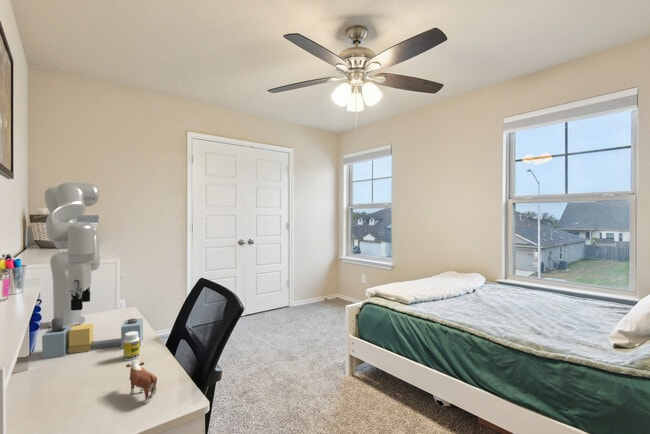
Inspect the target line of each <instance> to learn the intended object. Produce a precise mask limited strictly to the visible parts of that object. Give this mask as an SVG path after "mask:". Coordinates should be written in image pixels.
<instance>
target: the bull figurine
mask: <svg viewBox="0 0 650 434" xmlns="http://www.w3.org/2000/svg"><path fill="white" fill-rule="evenodd" d="M144 365H145V362H144V361H142V362H140V361H139V360H138V359H133V360H132V363H127V364H126V365H125V367H126V368H130V372H129V373H130V375H129V381H130V391H129V393H130V394H131V395H133V394H134V390H135V388H139V389H140V390H139V392H140V391H141V392H140V393H144V397H145V400H144V401H143V403H146V404H148V403H149V401H148V400H149V399H148V398H149V396H151V397H150V398H152V397H154V396H155V395H156V393H157V383H158V377H157V376H156V375H154V374H153V373H152V372H150V371H148V370H146V369H145V368H144V367H143V366H144ZM141 366H142V367H141ZM142 391H144V392H142ZM149 393H150V394H149Z"/></svg>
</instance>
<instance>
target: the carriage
mask: <svg viewBox="0 0 650 434" xmlns="http://www.w3.org/2000/svg"><path fill="white" fill-rule="evenodd" d="M91 342H94V323H88V324H87V323H86V324H79V325H76V326H72V328H71V329H70V330H69V353H68V354H74V353H82V352H87V351H88V352H90V351H91V350H90V344H91Z"/></svg>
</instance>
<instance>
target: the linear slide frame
mask: <svg viewBox="0 0 650 434" xmlns="http://www.w3.org/2000/svg"><path fill="white" fill-rule="evenodd" d="M143 321H144V320H143V318H129V319H124V322H123V324H121V327H120V330H121V331H120V333H121V334H120V338H121V346H120V347H121V350H122V349H123V350H124V340H125V334H126V333H128V332H131V331H137V332H138V337H139V339H140V341H139V348H141V345H142V342H143V339H144V329H143V328H144V326H143V325H144V322H143ZM72 327H73V326H63V330H62V331H58V332H52V328H50V327H49V329H48V330H47V331H45V333H44V334H42V336H41V343H42V344H41V347H42V348H41V350H42V352H41V355H42V357H41V358H42V360H46V359H53V358H61V357H62V358H63V357H65V356H66V355H67V354H68V353H67V347H68V345H69V330H70V329H71V328H72Z"/></svg>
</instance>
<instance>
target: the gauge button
mask: <svg viewBox="0 0 650 434" xmlns="http://www.w3.org/2000/svg"><path fill="white" fill-rule="evenodd" d="M51 322H52V332H58V331H62V330H63V318H55V319H54V318H52V319H51Z"/></svg>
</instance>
